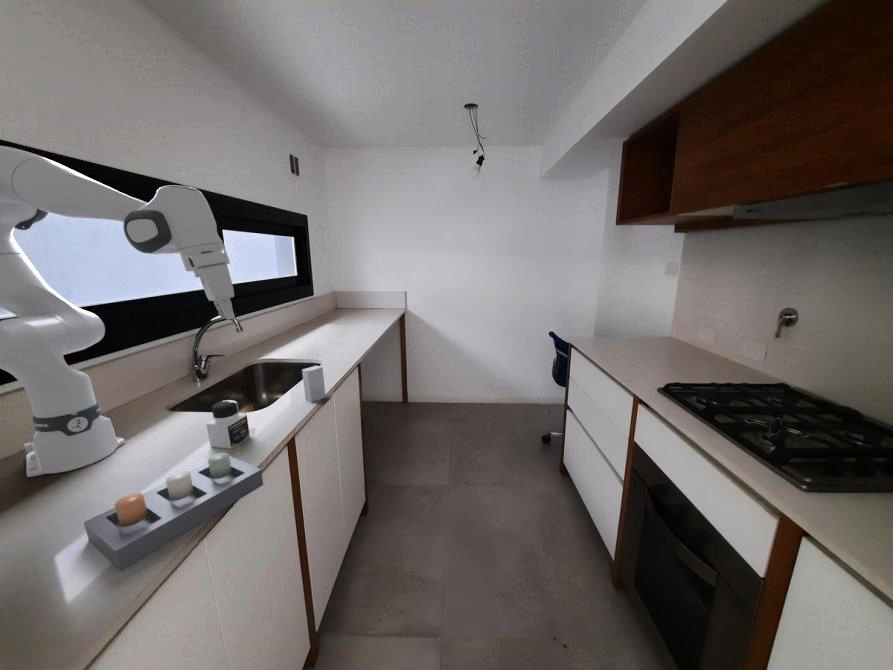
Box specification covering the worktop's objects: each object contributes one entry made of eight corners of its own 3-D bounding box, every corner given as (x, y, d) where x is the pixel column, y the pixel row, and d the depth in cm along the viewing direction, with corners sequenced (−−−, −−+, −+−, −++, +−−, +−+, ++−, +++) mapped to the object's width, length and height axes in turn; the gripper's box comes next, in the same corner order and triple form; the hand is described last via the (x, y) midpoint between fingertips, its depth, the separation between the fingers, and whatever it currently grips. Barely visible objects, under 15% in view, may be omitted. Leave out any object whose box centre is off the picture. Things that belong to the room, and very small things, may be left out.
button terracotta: (115, 521, 66) (111, 503, 65) (142, 508, 69) (137, 490, 68) (125, 529, 64) (120, 510, 63) (151, 515, 67) (147, 497, 66)
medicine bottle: (231, 449, 97) (224, 409, 95) (209, 447, 99) (202, 407, 96) (250, 436, 104) (244, 398, 102) (229, 434, 106) (223, 397, 103)
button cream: (165, 496, 73) (162, 479, 72) (187, 485, 76) (184, 469, 75) (175, 502, 71) (171, 485, 70) (197, 491, 74) (194, 474, 73)
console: (88, 540, 66) (83, 522, 66) (228, 468, 88) (226, 454, 88) (120, 571, 60) (115, 551, 59) (263, 484, 82) (261, 469, 81)
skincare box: (319, 395, 135) (316, 364, 132) (326, 397, 132) (323, 366, 129) (304, 400, 130) (301, 369, 127) (311, 403, 127) (307, 371, 125)
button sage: (207, 475, 79) (204, 459, 78) (225, 466, 83) (222, 451, 82) (217, 480, 77) (214, 464, 76) (235, 471, 81) (232, 455, 80)
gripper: (187, 266, 87) (208, 320, 91) (192, 258, 71) (217, 324, 74) (216, 261, 91) (235, 313, 94) (227, 252, 75) (249, 315, 78)
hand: (227, 318), depth 84 cm, fingers open, 8 cm apart
